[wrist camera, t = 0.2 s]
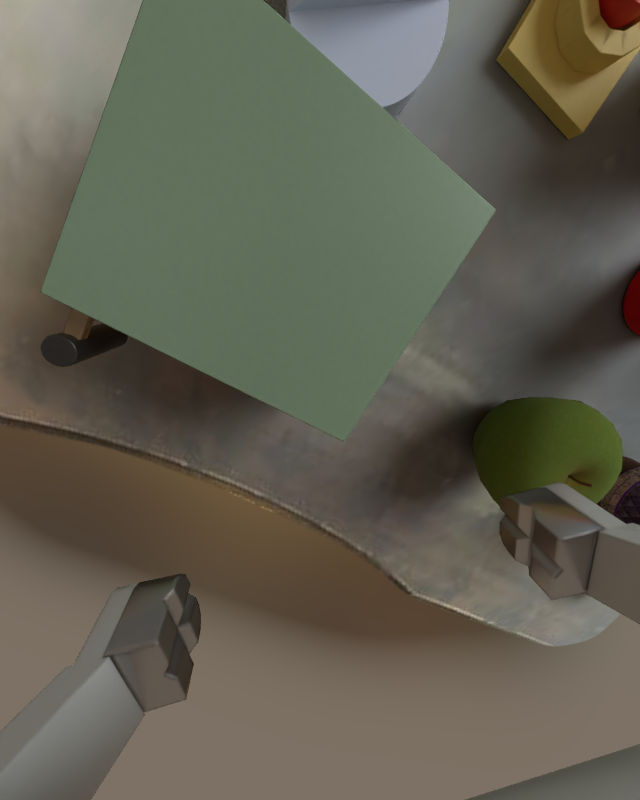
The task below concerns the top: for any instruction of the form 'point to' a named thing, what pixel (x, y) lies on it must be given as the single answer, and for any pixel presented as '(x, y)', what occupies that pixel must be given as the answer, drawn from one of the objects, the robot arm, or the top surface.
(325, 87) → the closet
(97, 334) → the brown sliding door
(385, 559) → the top surface
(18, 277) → the top surface
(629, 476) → the mug
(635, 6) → the button
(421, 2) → the wedge on round base
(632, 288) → the soda can
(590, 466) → the apple
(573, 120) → the button block
